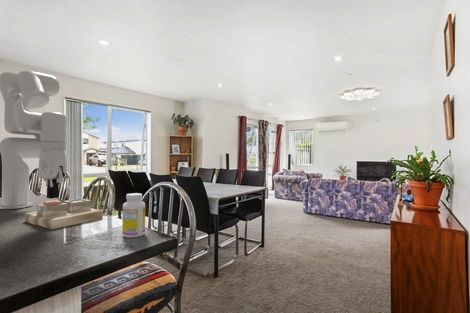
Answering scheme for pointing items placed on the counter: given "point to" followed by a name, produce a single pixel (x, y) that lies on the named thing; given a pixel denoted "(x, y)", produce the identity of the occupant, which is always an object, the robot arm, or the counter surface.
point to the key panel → (63, 214)
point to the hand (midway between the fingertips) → (52, 197)
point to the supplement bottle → (133, 216)
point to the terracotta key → (52, 203)
